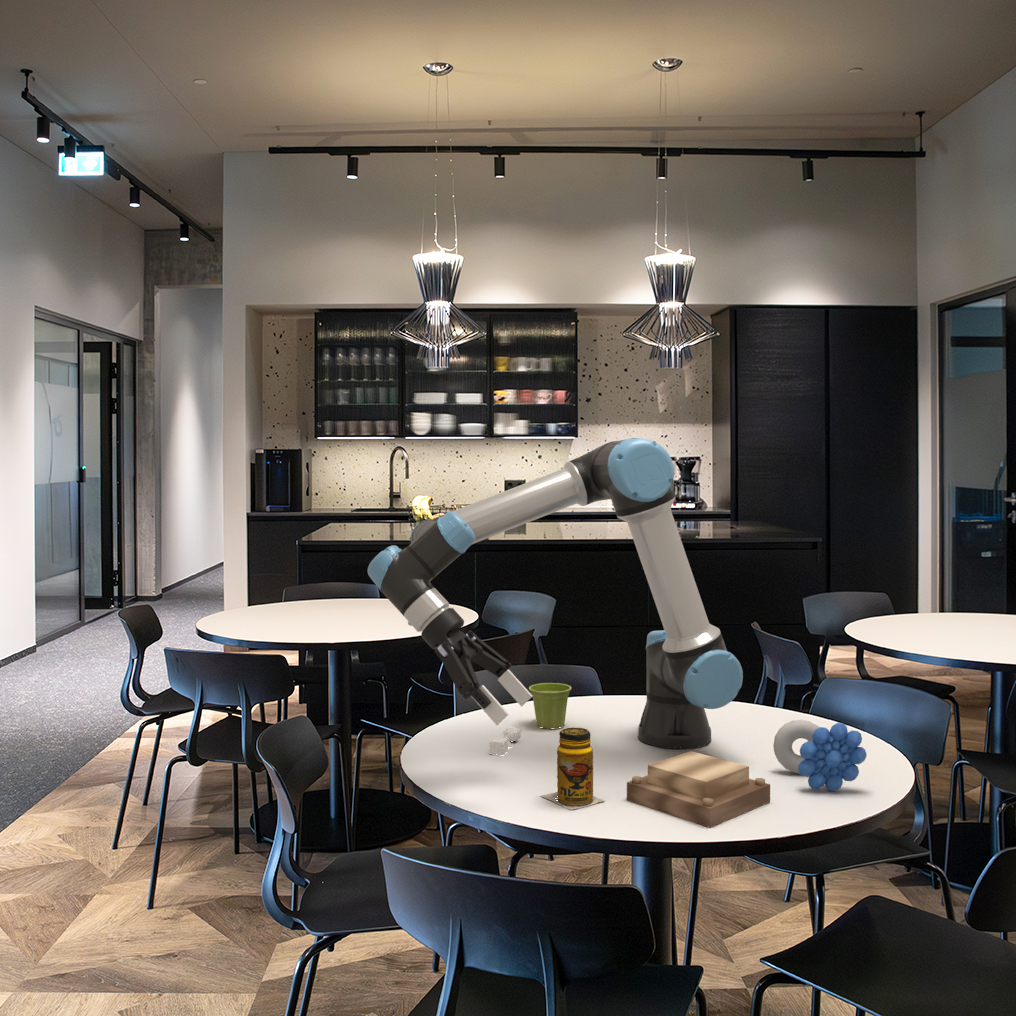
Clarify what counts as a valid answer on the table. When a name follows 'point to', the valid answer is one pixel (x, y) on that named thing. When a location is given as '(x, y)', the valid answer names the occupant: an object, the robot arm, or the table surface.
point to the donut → (786, 739)
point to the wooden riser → (699, 788)
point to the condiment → (574, 770)
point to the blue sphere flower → (831, 757)
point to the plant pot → (550, 703)
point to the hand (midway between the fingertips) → (515, 710)
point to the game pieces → (504, 741)
